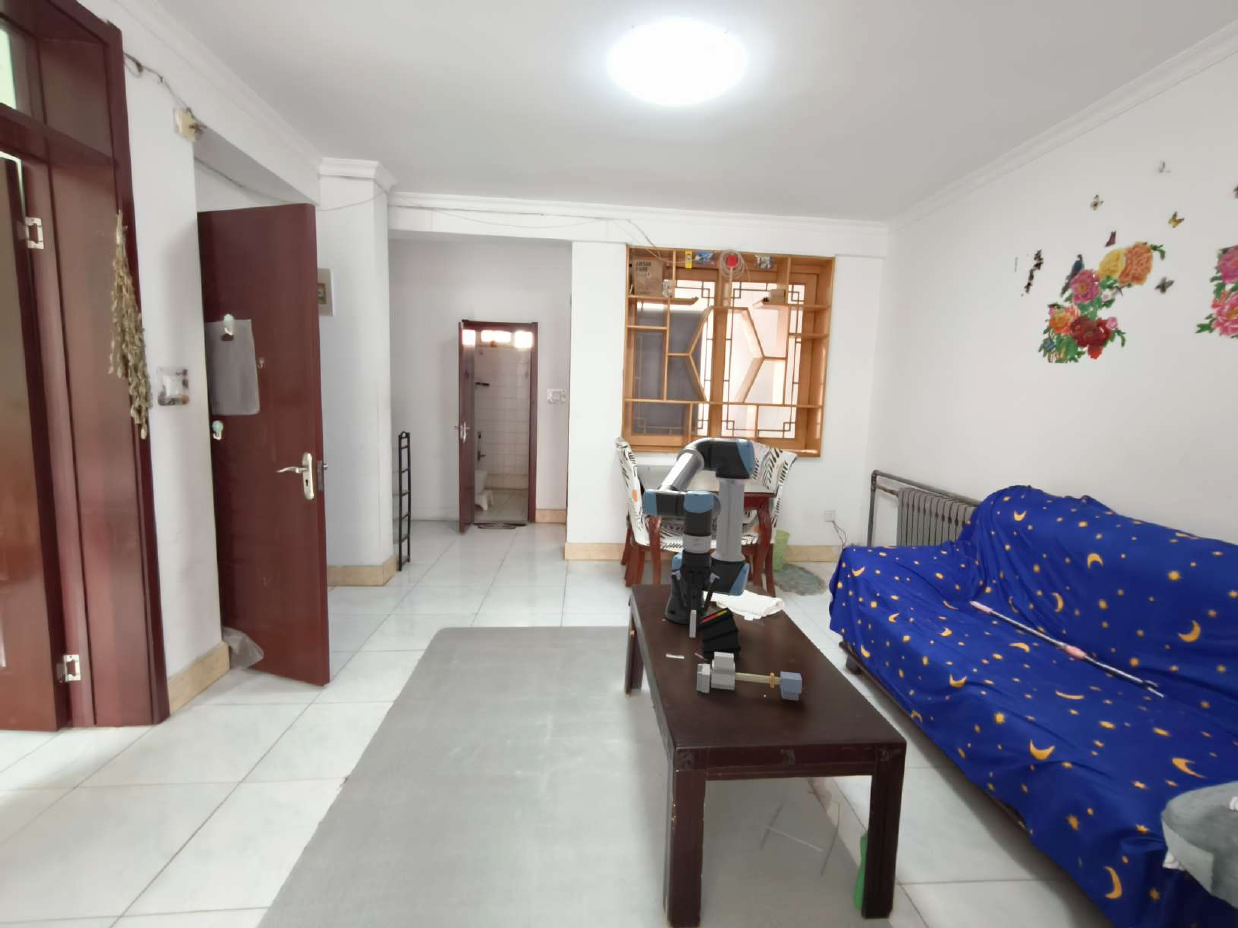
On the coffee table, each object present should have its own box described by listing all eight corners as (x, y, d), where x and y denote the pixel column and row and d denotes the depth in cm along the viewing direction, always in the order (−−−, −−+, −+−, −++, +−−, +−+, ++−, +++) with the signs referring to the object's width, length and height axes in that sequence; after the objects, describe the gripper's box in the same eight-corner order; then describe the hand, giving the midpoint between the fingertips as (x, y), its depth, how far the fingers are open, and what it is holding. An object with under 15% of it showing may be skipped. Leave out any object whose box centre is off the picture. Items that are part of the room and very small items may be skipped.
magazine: (750, 653, 163) (731, 610, 161) (710, 671, 163) (691, 628, 161) (747, 648, 167) (728, 605, 165) (708, 665, 167) (689, 623, 165)
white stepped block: (711, 677, 149) (712, 649, 148) (733, 680, 148) (735, 651, 147) (711, 687, 144) (712, 657, 143) (734, 690, 143) (735, 660, 142)
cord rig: (697, 680, 150) (698, 660, 149) (798, 691, 145) (799, 671, 145) (696, 691, 144) (697, 670, 144) (801, 703, 140) (802, 682, 139)
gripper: (670, 551, 141) (666, 638, 143) (721, 555, 138) (717, 643, 141) (673, 544, 148) (669, 627, 150) (721, 547, 146) (717, 632, 148)
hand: (692, 635), depth 146 cm, fingers closed
